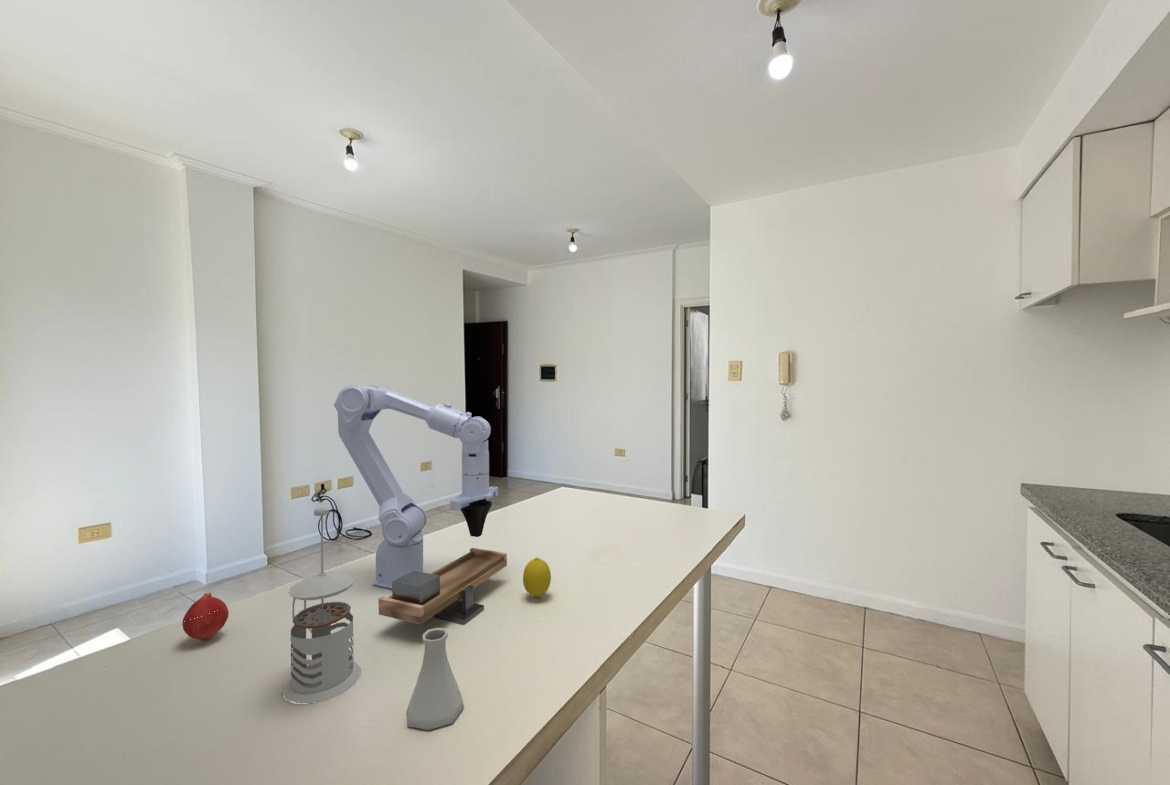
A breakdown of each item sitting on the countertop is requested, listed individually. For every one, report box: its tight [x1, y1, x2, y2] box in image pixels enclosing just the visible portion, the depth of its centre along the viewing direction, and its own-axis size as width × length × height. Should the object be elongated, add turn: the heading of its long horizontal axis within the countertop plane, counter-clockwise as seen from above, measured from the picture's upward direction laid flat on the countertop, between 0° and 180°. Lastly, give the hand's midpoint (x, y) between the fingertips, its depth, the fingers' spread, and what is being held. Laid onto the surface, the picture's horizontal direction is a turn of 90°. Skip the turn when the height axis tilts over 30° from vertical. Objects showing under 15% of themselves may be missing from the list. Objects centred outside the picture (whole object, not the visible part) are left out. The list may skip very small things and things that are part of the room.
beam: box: [378, 547, 508, 625], centre depth 87 cm, size 9×26×3 cm, turn 158°
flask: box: [406, 627, 465, 731], centre depth 58 cm, size 7×7×10 cm
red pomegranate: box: [181, 591, 230, 642], centre depth 75 cm, size 6×6×8 cm
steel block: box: [391, 571, 440, 605], centre depth 79 cm, size 6×5×4 cm
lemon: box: [522, 557, 552, 599], centre depth 90 cm, size 6×6×8 cm
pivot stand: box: [431, 585, 485, 626], centre depth 85 cm, size 14×6×5 cm, turn 68°
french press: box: [282, 505, 362, 705], centre depth 65 cm, size 10×12×25 cm
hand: (475, 535), depth 98 cm, fingers closed
